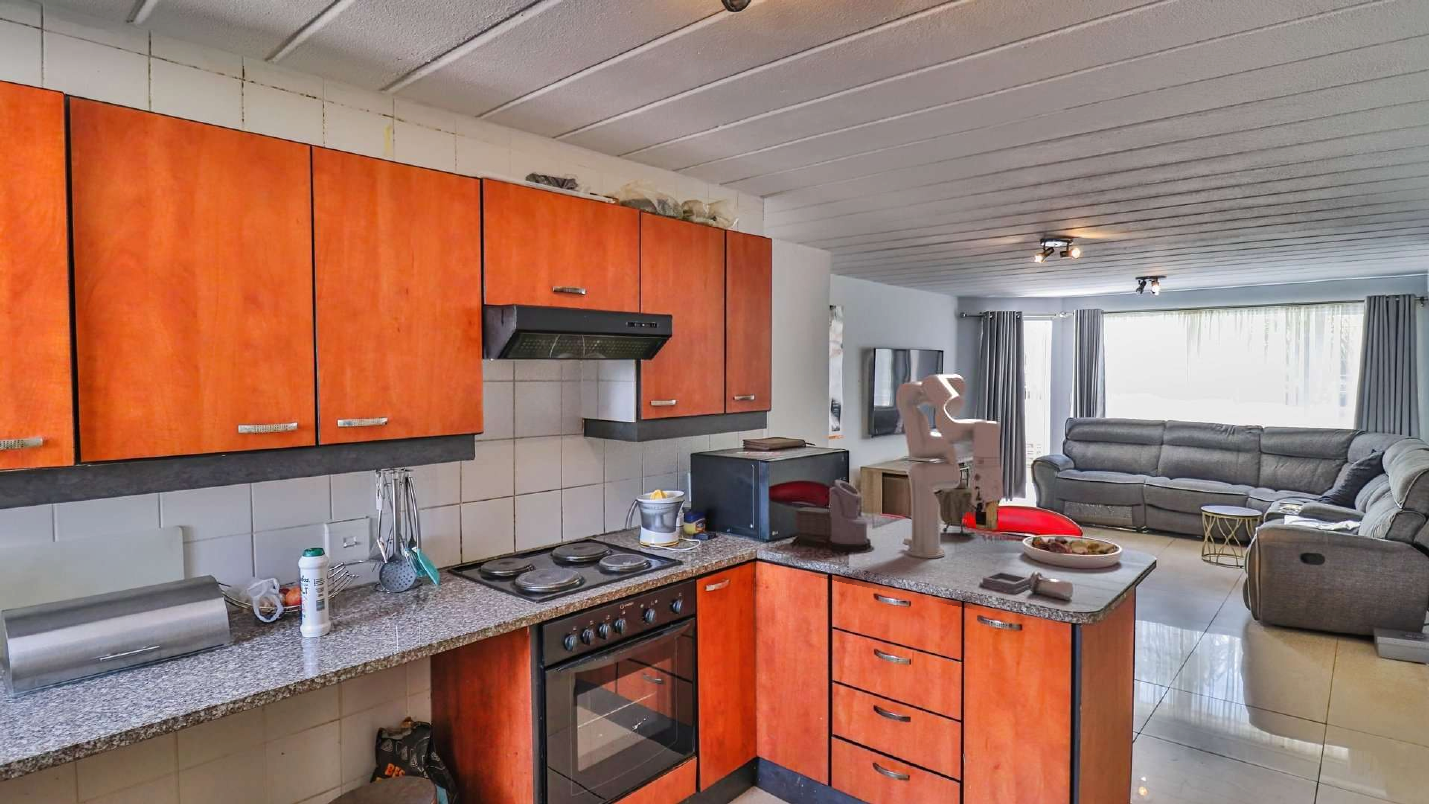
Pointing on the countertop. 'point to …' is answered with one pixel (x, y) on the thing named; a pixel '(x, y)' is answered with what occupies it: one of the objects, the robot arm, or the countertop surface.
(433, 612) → the countertop surface
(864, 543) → the juicer
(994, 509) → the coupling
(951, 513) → the tabletop clock
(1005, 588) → the grey square tray
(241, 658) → the countertop surface
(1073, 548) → the bowl
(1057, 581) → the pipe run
